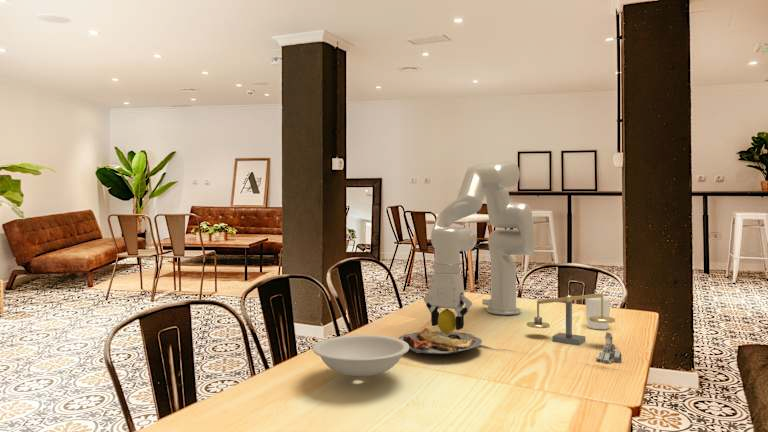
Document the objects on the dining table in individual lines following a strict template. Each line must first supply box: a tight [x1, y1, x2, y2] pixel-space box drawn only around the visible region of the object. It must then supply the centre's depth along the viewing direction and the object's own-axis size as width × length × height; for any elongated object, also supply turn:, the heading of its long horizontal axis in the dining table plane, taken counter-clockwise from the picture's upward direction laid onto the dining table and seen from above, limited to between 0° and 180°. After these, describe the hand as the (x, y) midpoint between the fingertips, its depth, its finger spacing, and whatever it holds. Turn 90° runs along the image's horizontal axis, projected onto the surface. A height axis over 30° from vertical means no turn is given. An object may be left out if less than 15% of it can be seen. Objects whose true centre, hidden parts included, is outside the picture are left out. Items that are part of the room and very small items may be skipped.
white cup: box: [584, 296, 611, 330], centre depth 181 cm, size 8×8×10 cm
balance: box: [526, 292, 616, 346], centre depth 162 cm, size 27×7×16 cm, turn 51°
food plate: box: [398, 328, 483, 355], centre depth 157 cm, size 25×23×4 cm
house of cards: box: [595, 331, 622, 365], centre depth 139 cm, size 9×9×8 cm
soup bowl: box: [312, 334, 410, 377], centre depth 132 cm, size 24×24×7 cm
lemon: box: [437, 308, 456, 335], centre depth 160 cm, size 6×6×8 cm
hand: (447, 326), depth 160 cm, fingers open, 8 cm apart
